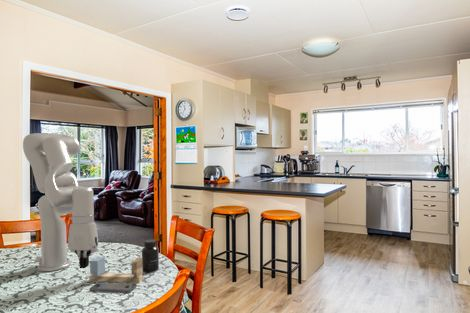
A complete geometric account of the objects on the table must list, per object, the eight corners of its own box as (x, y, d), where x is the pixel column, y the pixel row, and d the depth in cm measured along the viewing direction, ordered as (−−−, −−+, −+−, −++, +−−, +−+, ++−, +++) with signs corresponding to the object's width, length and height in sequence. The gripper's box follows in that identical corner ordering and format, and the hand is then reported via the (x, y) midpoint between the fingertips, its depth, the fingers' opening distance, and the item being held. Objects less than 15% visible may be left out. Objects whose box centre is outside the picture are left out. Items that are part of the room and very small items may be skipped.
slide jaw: (82, 281, 114) (81, 265, 114) (97, 271, 124) (97, 256, 124) (89, 281, 114) (89, 265, 114) (104, 271, 123) (104, 256, 123)
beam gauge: (79, 287, 114) (79, 265, 114) (95, 276, 124) (95, 256, 124) (132, 289, 111) (131, 267, 111) (143, 278, 121) (143, 257, 121)
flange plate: (89, 291, 111) (89, 287, 111) (97, 285, 116) (97, 282, 116) (130, 292, 109) (130, 289, 109) (136, 286, 114) (136, 283, 114)
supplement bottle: (154, 273, 127) (153, 243, 127) (138, 272, 128) (138, 242, 128) (161, 267, 134) (161, 239, 134) (146, 266, 135) (146, 238, 135)
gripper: (58, 221, 119) (59, 270, 119) (95, 221, 117) (96, 271, 117) (71, 217, 127) (72, 263, 127) (106, 217, 125) (107, 264, 125)
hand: (84, 267), depth 122 cm, fingers closed
